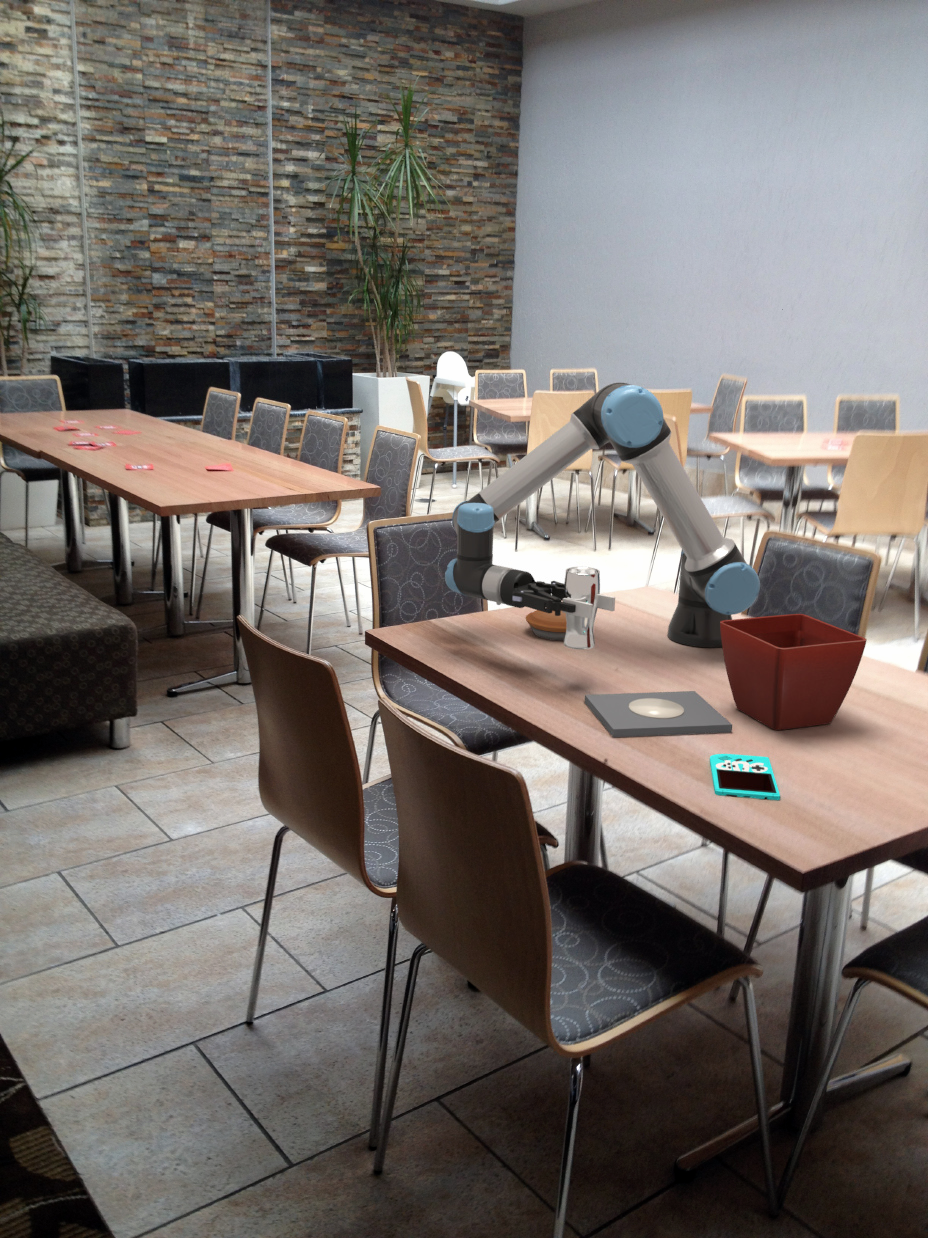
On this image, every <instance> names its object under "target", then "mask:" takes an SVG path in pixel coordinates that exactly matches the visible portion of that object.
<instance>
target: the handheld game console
mask: <svg viewBox="0 0 928 1238" xmlns="http://www.w3.org/2000/svg"><path fill="white" fill-rule="evenodd" d="M709 765H710V766H709V767H710V772H711V777H712V784H713V790H714V794H715V796H722V797H723V796H725V797H726V796H728V797H734V798H747V799H757V800H759V799H760V800H765V798H766V800H770V801H780V800H781V794H780V790H779V788H778V784H777V780H776V777H775V774H774V771H773V767H772V764H771V760H770V758H769V757H768V756H762V755H761V756H760V755H759V756H758V755H748V754H746V755H745V754H736V753H717V754H715V753H714V754H712V755H710V756H709Z"/></svg>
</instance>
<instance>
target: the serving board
mask: <svg viewBox="0 0 928 1238" xmlns="http://www.w3.org/2000/svg"><path fill="white" fill-rule="evenodd" d="M583 702H584V704H585V705H586V706H587V707H588V708H589V710H590V711H591V712H592V713H593V715H594V716H595V717H596V718H597V720H598V721H599V722H600V723H601V725H602V726H603V727H604V728H605V729H606V731H607V732H608V733H609V735H610V736H611V737H612V738H624V737H625V738H632V737H633V738H634V737H652V736H653V737H654V736H655V737H656V736H676V735H677V736H678V735H701V734H703V735H704V734H724V733H725V734H726V733H729V734H731V733H732V732H733V724H732V723H731V721H730V720H728V719H727V718H726V717H725V716H724V715H722V713H720V711H718V710H717V709H715V707H713V706H712V705H711V704H710V703H709V702H708V701H706V699H704V698H703V697H702V696H701V695H700V694H699V693H697V692H696V691H695V690H685V691H684V690H683V691H660V692H659V691H657V692H655V691H654V692H652V691H651V692H628V693H627V692H626V693H625V692H624V693H623V692H621V693H599V694H597V693H595V694H593V693H592V694H584V701H583Z"/></svg>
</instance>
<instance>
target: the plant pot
mask: <svg viewBox="0 0 928 1238" xmlns="http://www.w3.org/2000/svg"><path fill="white" fill-rule="evenodd" d="M720 630H721V640H722V653H723V658H724V665H725V669H726V674H727V681H728V683H729V687H730V690H731V695H732V698H733V702H734V704H735V706H736V709H737V710H738V711H741V712H742V713H744V714H745V715H747V716H748V717H750V718H752V719H754V720H756V721H758V722H760V723H761V724H763V725H765V726H767V727H768V728H770V729H772V730H775V731H782V730H789V729H797V728H802V727H803V728H805V727H812V726H821V725H827V724H831V723H832V722H833V720H834V718H835V717H836V715H837V713H838V711H839V710H840V708H841V706H842V704H843V702H844V700H845V698H846V697H847V694H848V693H849V692H850V691H849V690H850V688H851V686H852V684H853V681H854V679H855V676H856V675H857V672H858V669H859V666H860V663H861V661H862V657H863V654H864V651H865V648H866V644H867V640H868V639H867V638H865V637H863V636H860V635H858V634H856V633H853V632H851V631H848V630H846V629H843V628H840V627H837V626H835V625H833V624H830V623H828V622H824V621H822V620H820V619H817V618H814V617H812V616H810V615H807V614H804V613H793V614H779V615H769V616H768V615H767V616H758V617H757V616H754V617H747V618H746V617H745V618H737V619H732V620H724V621H721V622H720Z"/></svg>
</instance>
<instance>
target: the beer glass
mask: <svg viewBox="0 0 928 1238" xmlns="http://www.w3.org/2000/svg"><path fill="white" fill-rule="evenodd" d="M563 584H564V598H567V599H571V600H576V601H581V602H585V603H590V604H593V609H592V618H590V619H589V618H584V617H580V616H576V615H572V614H568V613H565V614H566V622H567V629H566V635H565V639H564V640H563V645H564V646H565V647H566V648H568V649H572V650H581V651H582V650H590V649H593V648H594V647H595V645H596V642H595V641H596V640H595V634H594V631H595V630H594V628H595V621H596V616H597V613H598V609H599V608H598V604H599V597H600V594H601V579H600V569H598V568H594V567H589V566H588V567H587V566H572V567H568V568H566V569H565V575H564V583H563Z"/></svg>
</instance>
